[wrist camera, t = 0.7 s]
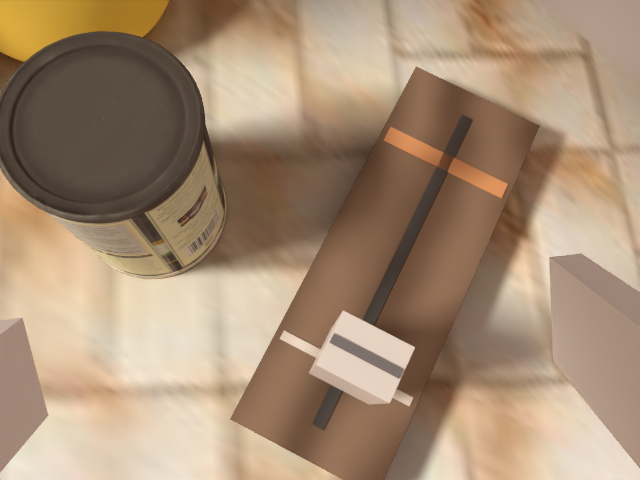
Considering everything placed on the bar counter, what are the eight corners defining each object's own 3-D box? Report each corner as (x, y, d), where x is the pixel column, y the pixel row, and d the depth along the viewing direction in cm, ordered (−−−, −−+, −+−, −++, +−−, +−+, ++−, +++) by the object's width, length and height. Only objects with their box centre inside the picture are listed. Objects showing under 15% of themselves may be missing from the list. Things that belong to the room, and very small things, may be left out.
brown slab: (233, 418, 40) (230, 419, 37) (407, 87, 47) (416, 65, 44) (369, 490, 39) (376, 497, 36) (523, 143, 47) (540, 125, 44)
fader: (307, 374, 37) (316, 364, 29) (329, 331, 38) (343, 310, 30) (365, 404, 37) (389, 403, 29) (385, 360, 38) (415, 347, 30)
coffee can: (100, 135, 44) (22, 15, 31) (238, 155, 45) (220, 46, 31) (65, 269, 42) (-38, 201, 28) (213, 290, 42) (182, 234, 28)
